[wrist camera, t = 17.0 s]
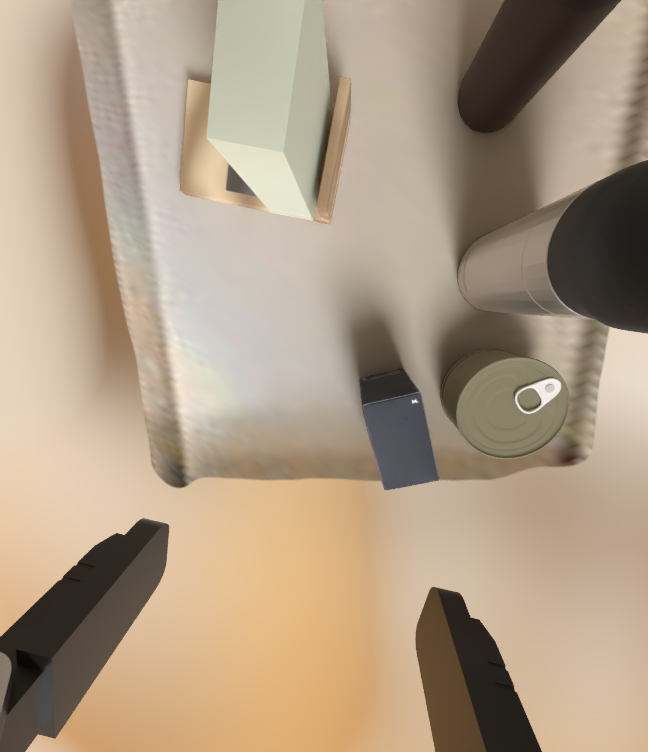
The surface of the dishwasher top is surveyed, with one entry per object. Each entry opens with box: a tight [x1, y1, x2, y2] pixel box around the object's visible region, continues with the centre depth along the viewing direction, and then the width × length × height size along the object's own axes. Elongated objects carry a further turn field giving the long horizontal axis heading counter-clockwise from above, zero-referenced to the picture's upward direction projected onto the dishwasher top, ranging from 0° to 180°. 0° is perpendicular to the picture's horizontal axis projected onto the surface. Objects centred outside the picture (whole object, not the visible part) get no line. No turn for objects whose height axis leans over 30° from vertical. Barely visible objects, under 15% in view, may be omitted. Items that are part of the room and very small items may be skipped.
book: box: [206, 0, 332, 221], centre depth 26 cm, size 5×11×17 cm, turn 169°
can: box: [441, 349, 570, 459], centre depth 37 cm, size 12×12×7 cm
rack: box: [180, 76, 351, 224], centre depth 33 cm, size 18×11×6 cm, turn 79°
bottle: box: [458, 0, 621, 133], centre depth 23 cm, size 7×7×20 cm
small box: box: [360, 368, 439, 490], centre depth 37 cm, size 11×6×10 cm, turn 16°
